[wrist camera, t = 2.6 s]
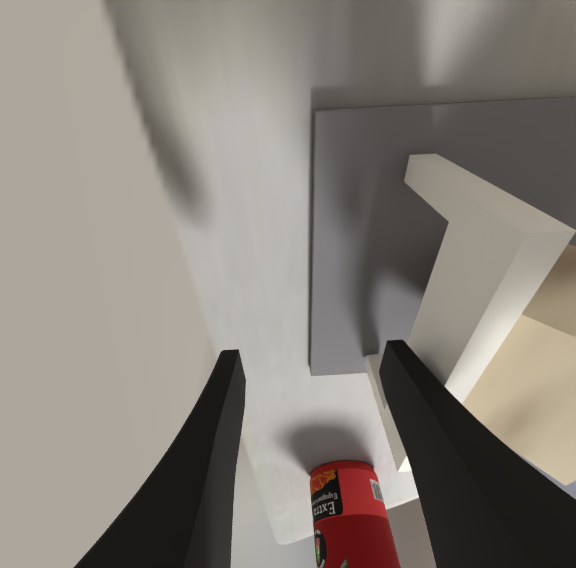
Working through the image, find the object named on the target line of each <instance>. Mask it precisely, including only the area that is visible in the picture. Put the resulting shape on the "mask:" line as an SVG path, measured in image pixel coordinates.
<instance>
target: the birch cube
mask: <svg viewBox="0 0 576 568" xmlns="http://www.w3.org/2000/svg"><path fill="white" fill-rule="evenodd" d="M462 405H463V406H464V407H465V408H466V409H467V410H468V411H469V412H470V413H471V414H472V415H473V416H474V417H476V418H477V419H478V420H479V421H480V422H481V423H482V424H483V425H484V426H485V427H486V428H487V429H489V430H490V431H491V432H492V433H493V434H494V435H495V436H496V437H498V438H499V439H500V440H501V441H502V442H503V443H505V444H506V445H507V446H508V447H509V448H510V449H512V450H513V451H515V452H516V453H518V454H519V455H521V456H522V457H524V458H525V459H527V460H528V461H530V462H531V463H532V464H534V465H535V466H537V467H538V468H540V469H541V470H543V471H544V472H546V473H547V474H549V475H550V476H551V477H553V478H554V479H556V480H557V481H559V482H560V483H562V484H563V485H565V486H567V485H568V484H570V483H572V482H573V481H575V480H576V246H573V245H569V244H567V246H566V247H565V249H564V250H563V252H562V253H561V255H560V256H559V258H558V259H557V261H556V262H555V264H554V266H553V267H552V269H551V270H550V272H549V273H548V275H547V276H546V278H545V279H544V281H543V282H542V284H541V285H540V287H539V288H538V290H537V291H536V293H535V294H534V296H533V297H532V299H531V300H530V302H529V303H528V305H527V306H526V308H525V309H524V311H523V312H522V314H521V315H520V317H519V319H518V320H517V322H516V323H515V325H514V326H513V328H512V329H511V331H510V332H509V334H508V335H507V337H506V338H505V340H504V341H503V343H502V344H501V346H500V347H499V349H498V350H497V352H496V353H495V355H494V356H493V358H492V359H491V361H490V362H489V364H488V365H487V367H486V368H485V370H484V372H483V373H482V375H481V376H480V378H479V379H478V381H477V382H476V384H475V385H474V387H473V388H472V390H471V391H470V393H469V394H468V396H467V397H466V399H465V400H464V402H463V403H462Z"/></svg>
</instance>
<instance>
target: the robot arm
mask: <svg viewBox="0 0 576 568" xmlns="http://www.w3.org/2000/svg"><path fill="white" fill-rule="evenodd" d="M379 375H380V379H381V384H382V388H383V391H384V395H385V399H386V401H387V404H388V407H389V409H390V412H391V415H392V418H393V420H394V423H395V426H396V428H397V431H398V433H399V436H400V439H401V441H402V444H403V447H404V449H405V452H406V455H407V458H408V461H409V464H410V467H411V470H412V473H413V477H414V480H415V484H416V488H417V491H418V495H419V498H420V502H421V506H422V510H423V514H424V517H425V521H426V525H427V529H428V533H429V537H430V541H431V546H432V550H433V553H434V558H435V562H436V567H437V568H576V480H575V481H573V482H572V483H570V484H568V485H567V486H565V485H563V484H562V483H560V482H559V481H557V480H556V479H554V478H553V477H551V476H550V475H549V474H547V473H546V472H544V471H543V470H541V469H540V468H538V467H537V466H535V465H534V464H532V463H531V462H530V461H528V460H527V459H525V458H524V457H522V456H521V455H519V454H518V453H516V452H515V451H513V450H512V449H510V448H509V447H508V446H507V445H506V444H505V443H503V442H502V441H501V440H500V439H499V438H498V437H496V436H495V435H494V434H493V433H492V432H491V431H490V430H489V429H487V428H486V427H485V426H484V425H483V424H482V423H481V422H480V421H479V420H478V419H477V418H476V417H474V416H473V415H472V414H471V413H470V412H469V411H468V410H467V409H466V408H465V407H464V406H463V405H462V404H461V403H460V402H459V401H458V400H457V399H456V398H455V397H454V396H453V395H452V394H451V393H450V392H449V391H448V390H447V388H446V387H445V386H444V385H443V384H442V383H441V382H440V381H439V380H438V379H437V378H436V377H435V376H434V375H433V373H432V372H431V371H430V370H429V369H428V368H427V367H426V366H425V364H424V363H423V362H422V361H421V360H420V359H419V358H418V356H417V355H416V354H415V353H414V352H413V351H412V349H411V348H410V347H409V346H408V345H407V344H406V342H405V341H404V340H403V339H402V340H387V342H386V346H385V350H384V354H383V357H382V361H381V365H380V368H379ZM245 385H246V379H245V375H244V371H243V366H242V362H241V358H240V353H239V349H237V350H223V351H222V352H221V353H220V355H219V358H218V360H217V362H216V365H215V367H214V369H213V372H212V373H211V376H210V378H209V380H208V382H207V384H206V386H205V388H204V389H203V391H202V393H201V395H200V397H199V399H198V401H197V403H196V404H195V406H194V408H193V410H192V412H191V413H190V415H189V417H188V418H187V420H186V422H185V423H184V425H183V427H182V428H181V430H180V432H179V433H178V435H177V436H176V438H175V440H174V441H173V443H172V444H171V446H170V447H169V449H168V451H167V452H166V453H165V454H164V456H163V457H162V459H161V460H160V462H159V463H158V465H157V466H156V467H155V469H154V470H153V471H152V473H151V474H150V476H149V477H148V478H147V480H146V481H145V482H144V484H143V485H142V486H141V488H140V489H139V490H138V492H137V493H136V494H135V496H134V497H133V498H132V499H131V501H130V502H129V503H128V504H127V506H126V507H125V508H124V509H123V510H122V512H121V513H120V514H119V515H118V517H117V518H116V519H115V520H114V522H113V523H112V524H111V525H110V526H109V528H108V529H107V530H106V531H105V533H104V534H103V535H102V536H101V537H100V538H99V540H98V541H97V542H96V543H95V544H94V545H93V546H92V548H91V549H90V550H89V551H88V552H87V553H86V555H84V557H83V558H82V559H81V560H80V561H79V562H78V564H76V566H75V567H74V568H230V564H231V539H232V518H233V500H234V484H235V472H236V464H237V457H238V450H239V443H240V436H241V429H242V422H243V415H244V407H245Z"/></svg>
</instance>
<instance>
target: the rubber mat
mask: <svg viewBox="0 0 576 568" xmlns="http://www.w3.org/2000/svg"><path fill="white" fill-rule="evenodd" d="M417 154H438V155H440V156H441V157H443V158H445V159H447V160H449V161H451V162H452V163H454V164H456V165H458V166H460V167H462V168H463V169H465V170H467V171H469V172H471V173H472V174H474V175H476V176H478V177H480V178H482V179H483V180H485V181H487V182H489V183H491V184H493V185H494V186H496V187H498V188H500V189H502V190H503V191H505V192H507V193H509V194H511V195H513V196H514V197H516V198H518V199H520V200H522V201H524V202H525V203H527V204H529V205H531V206H533V207H535V208H536V209H538V210H540V211H542V212H544V213H545V214H547V215H549V216H551V217H553V218H555V219H556V220H558V221H560V222H562V223H564V224H566V225H567V226H569V227H571V228H573V229H575V230H576V97H562V98H542V99H522V100H502V101H482V102H463V103H443V104H423V105H403V106H383V107H364V108H344V109H324V110H314V166H313V225H312V284H311V343H310V372H311V376H320V375H337V374H354V373H367V370H366V367H365V361H366V356H367V355H373V354H384V350H385V346H386V342H387V340H402V339H403V340H404V341H405V342H406V344H407V343H408V340H409V337H410V334H411V331H412V329H413V326H414V323H415V320H416V317H417V314H418V311H419V308H420V305H421V302H422V299H423V296H424V294H425V291H426V288H427V285H428V282H429V279H430V276H431V273H432V270H433V267H434V264H435V261H436V258H437V256H438V253H439V250H440V247H441V244H442V241H443V238H444V235H445V232H446V229H447V226H448V223H449V222H448V221H447V220H446V219H445V218H444V217H443V216H442V215H441V214H440V213H438V212H437V211H436V210H435V209H434V208H433V207H432V206H431V205H429V204H428V203H427V202H426V201H425V200H424V199H423V198H422V197H421V196H419V195H418V194H417V193H416V192H415V191H414V190H413V189H412V188H411V187H409V186H408V185H407V184H406V183H405V182H404V179H405V174H406V170H407V165H408V160H409V156H410V155H417ZM568 244H569V245H573V246H576V232H575V234H574V235H573V237H572V238H571V240H570V241H569V243H568Z"/></svg>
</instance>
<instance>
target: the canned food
mask: <svg viewBox="0 0 576 568" xmlns="http://www.w3.org/2000/svg"><path fill="white" fill-rule="evenodd" d="M310 491H311V503H312V515H313V527H314V538H315V549H316V562H317V568H401V567H400V564H399V560H398V556H397V552H396V548H395V544H394V541H393V536H392V532H391V528H390V525H389V521H388V517H387V513H386V509H385V505H384V501H383V497H382V493H381V490H380V486H379V482H378V478H377V475H376V473H375V472H374V470H373V468H372V467H371V466H370V465H368V464H366V463H364V462H359V461H336V462H331V463H327V464H324V465H321V466H319V467H317V468H316V469H314V471H313V472H312V474H311V479H310Z"/></svg>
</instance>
